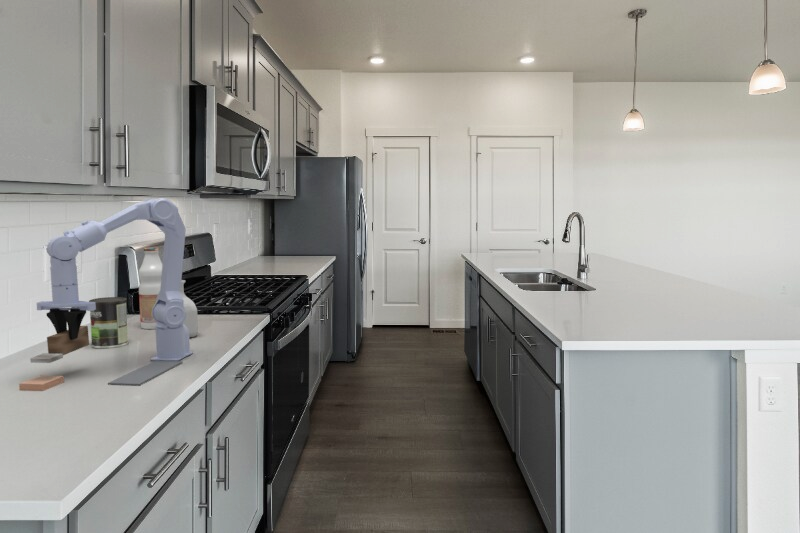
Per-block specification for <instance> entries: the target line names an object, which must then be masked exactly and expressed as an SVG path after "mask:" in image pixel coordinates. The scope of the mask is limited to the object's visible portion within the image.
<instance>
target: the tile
mask: <svg viewBox="0 0 800 533" xmlns="http://www.w3.org/2000/svg"><path fill="white" fill-rule="evenodd" d="M60 383H61V384H64V383H65V377H64V375H45V374H44V375H43V374H42V375H38V376H35V377H33V378H31V379H30V378H29V379H27V380H25V381H23V382H20V383H18V385H19V386H18V387H19V391H33V392H34V391H35V392H36V391H40V392H45V391H47V390H49V389H51V388H53V387H56V386H59V385H61V384H60ZM58 384H59V385H58Z"/></svg>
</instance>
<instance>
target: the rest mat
mask: <svg viewBox="0 0 800 533" xmlns="http://www.w3.org/2000/svg"><path fill="white" fill-rule="evenodd" d="M183 363H184V362H183V361H180V360H178V361H154V360H152V361H151V362H149V363H147V364H144V365H142V366H141V367H138V368H137V369H134V370H132V371H130V372H128V373H126V374H123V375H122V376H120V377H117V378H115V379H113V380H111V381H109V382H107V385H109V384H111V385H109V386H136V385H140V386H142V385H144V384H146V383H147V381H148V382H149V381H151V380H154V379H155V378H157V377H159V376H161V375H163V374H165V373H166V372H169V371H170V370H172V369H174V368H176V367H178V366H179V365H182V364H183ZM145 382H146V383H145ZM143 383H144V384H143ZM141 384H142V385H141Z"/></svg>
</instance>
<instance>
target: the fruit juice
mask: <svg viewBox="0 0 800 533" xmlns="http://www.w3.org/2000/svg"><path fill="white" fill-rule="evenodd" d="M143 253H144V257H143V260H142V263H141V266H140V268H139V270H138V278H139V281H140V283H139V285H138V295H139V296H138V298H139V299H138V300H139V301H138V302H139V316H140V317H139V318H140V319H139V321H140V327H141V329H144V330H156V327H155V325H156V323H157V321H156V320H155V319H154V318H153V316H152V309H153V307H154V305H155V303H156V300H157V295H158V294H159V292H160V288H161V276H162V265H163V261H162V260H161V257H160V254H159V253H160V249H159V247H157V246H156V247H154V246H153V247H151V246H150V247H143Z"/></svg>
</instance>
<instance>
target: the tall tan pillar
mask: <svg viewBox="0 0 800 533" xmlns="http://www.w3.org/2000/svg"><path fill="white" fill-rule="evenodd" d="M88 326H89V325H80V328H79V333H78V338H76V339H73V340H70V338H69V330H68V329H67V330H66V331H63V332H60V333H57V332H56V333H55V334H51V335H49V336H47V337H46V344H47V351H48V352H46V353H44V352H43V353H40V354H38V355H35V356H32V357H31V358H30V359H29V360H30V364H31V363H37V364H41V363H42V364H51V363H54V362H56V361H58V360H62V359H63V358H64V356H65V355H68V354H70V353H73V352H76V351H78V350H80V349H82V348H85V347H87V346H89V345H90V340H89V338H90V337H89V327H88Z"/></svg>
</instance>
